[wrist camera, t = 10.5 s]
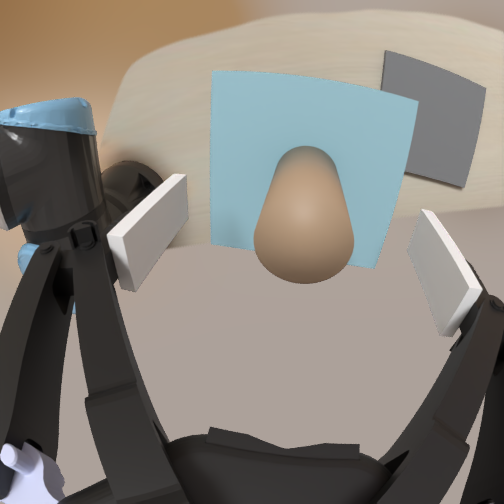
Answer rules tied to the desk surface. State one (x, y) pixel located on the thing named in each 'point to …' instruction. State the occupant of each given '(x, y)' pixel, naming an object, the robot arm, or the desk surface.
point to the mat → (437, 116)
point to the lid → (305, 170)
